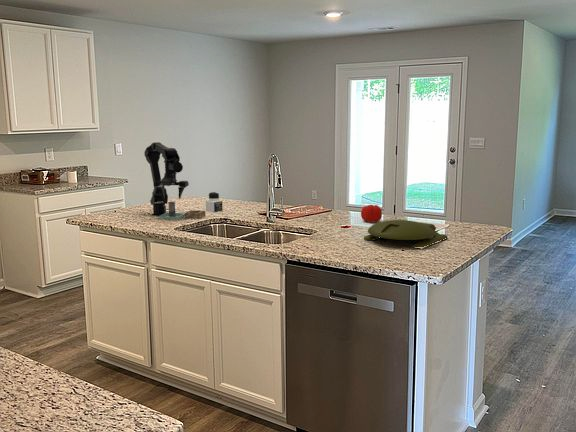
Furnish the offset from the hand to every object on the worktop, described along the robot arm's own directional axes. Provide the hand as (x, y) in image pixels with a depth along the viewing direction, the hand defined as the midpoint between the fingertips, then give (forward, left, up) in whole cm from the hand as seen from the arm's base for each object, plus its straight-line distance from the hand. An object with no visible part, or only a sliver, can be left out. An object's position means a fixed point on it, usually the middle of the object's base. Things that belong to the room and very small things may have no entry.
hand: (171, 198), depth 319 cm
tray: (0, 0, -12) cm, 12 cm away
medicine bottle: (+17, +25, -12) cm, 33 cm away
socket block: (+12, +3, -12) cm, 17 cm away
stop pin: (0, 0, -11) cm, 11 cm away
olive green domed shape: (+127, -33, -12) cm, 131 cm away
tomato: (+111, +10, -12) cm, 112 cm away
